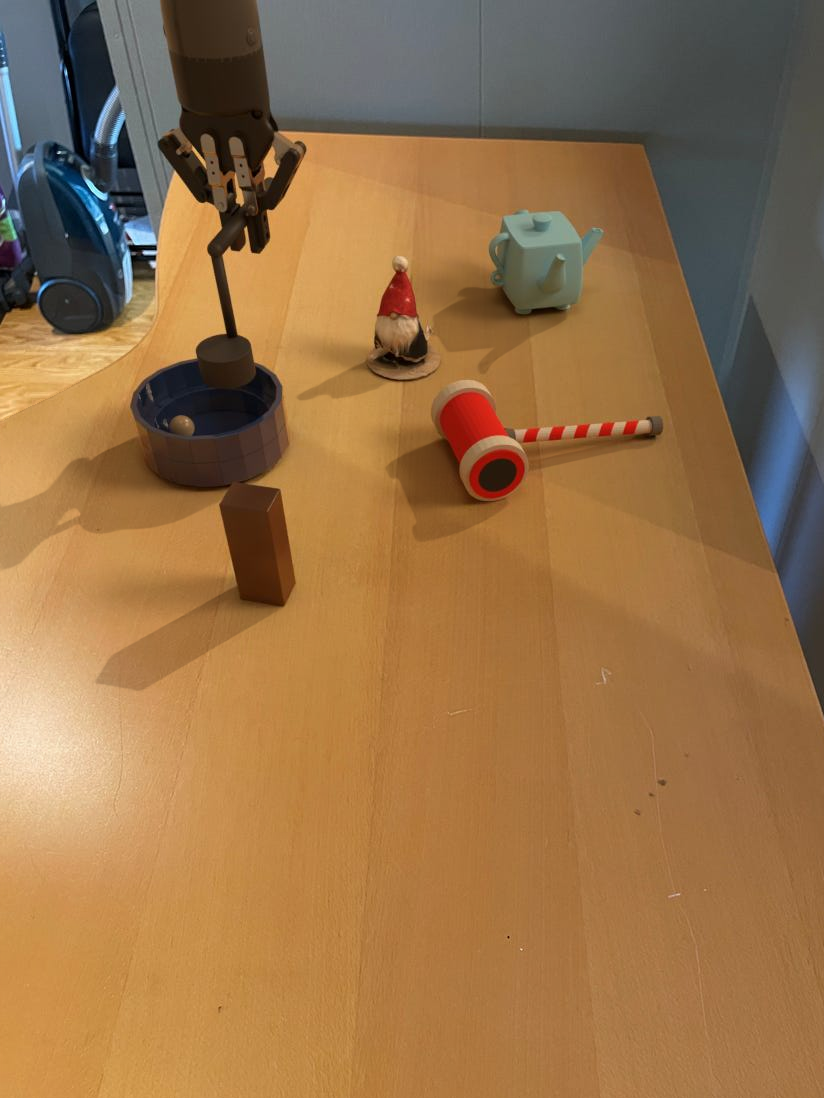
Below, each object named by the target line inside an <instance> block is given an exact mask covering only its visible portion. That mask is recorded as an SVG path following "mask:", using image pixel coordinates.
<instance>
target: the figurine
mask: <svg viewBox="0 0 824 1098" xmlns="http://www.w3.org/2000/svg"><path fill="white" fill-rule="evenodd" d="M409 263H410V262H409V260H408V259H407V258H405V257H404V256H402V255H395V256H394V257H393V259H392V261H391V264H392V265H391V266H392V269H393V271H394V272H395V274H394V275H393V276H392V278H391V280H390V281H389V283H388V285H387V286H386V289H385V290H384V292H383V294H382V295H381V299H380V303H379V309H378V312H377V314H376V320H375V324H374V335H373V336H374V337H373V345H374V348H373V349H372V351H370V352H369V353H368V356H367V358H366V363H367V366H368V368H369V369H370V370H371V371H372V372H374V373H375V374H378V375H380V376H382V377H385V378H388V379H392V380H393V379H394V380H401V381H402V380H405V381H406V380H407V381H409V380H410V381H412V380H413V381H414V380H416V379H417V380H418V379H421V378H422V377H426V378H427V377H428V375H431V374H432V373H434V372H437V370H438V369H439V366H440V364H441V361H442V359H441V354H440V352H438V350H437V349H435V347H433V346H431V345H430V344H429V343H428V340H429V338H430V336H431V334H432V333H434V330H433V329H432V327H431V326H430V325H427V326H426V327H425V331H424V329H423V327H422V325H421V322H420V320H419V318H420V315H419V313H418V310H417V302H416V297H415V293H414V290H413V286H412V283H411V280H410V278H409V276H408V274H407V271H408V270H409V265H410V264H409ZM390 353H391V354H393V355H394V356H395V357H396V358H399V357H401V358H402V359H404V360H403V361H402V360H401V361H400V362H399V361H396V360H392V359H387V358H386V357H385V355H387V354H390Z"/></svg>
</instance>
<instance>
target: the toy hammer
mask: <svg viewBox="0 0 824 1098" xmlns="http://www.w3.org/2000/svg"><path fill="white" fill-rule="evenodd" d="M430 408H431V409H430V417H431V421H432V424H433V425H434V427H435V429H436V431H437V433H438V434H439V435H440V437H441V438H443V439H444V440H445V441H448V443H449V445H450V447H451V449H452V451H453V453H454V456H455V457H456V459H457V461H458V464H459V476H460V477H459V478H460V480H461V482H462V484H463V485H464V487H465V490H466V491H467V493H468V494H469V495H470V496H471V497H473V498H474V499H476V500H479V501H484V502H494V501H500V500H503V499H505V498H507V497H509V496H511V495H512V494H513V493H515V492H517V490H519V489H520V488H521V487H522V485H523V484H524V482H525V481H526V479H527V476H528V474H529V471H530V462H529V458H528V456H527V454H526V452H525V451H524V448H523V447H522V446H521V444H526V443H537V442H540V443H541V442H550V441H551V442H552V441H563V440H575V439H589V438H600V437H601V438H602V437H613V436H625V435H639V434H645V435H646V436H648V437H653V436H661V434H662V433H663V431H664V420H663V418H662V417H661V416H660V415H653V416H647V417H646V418H645V419H642V420H641V419H639V420H628V421H614V422H601V423H587V424H586V423H585V424H575V425H562V426H560V425H559V426H547V427H535V428H533V427H532V428H524V429H523V428H522V429H514V428H507V427H504V425H503V424H502V422H501V420H500V418H499V417H498V415H497V406H496V403H495V400H494V397H493V396H492V394H491V393H490V391H489V389H488V388H487V387H486V386H485V385H484V384H483V383H481V382H479V381H477V380H473V379H461V380H457V381H453V382H452V383H449V384H448V385H446V386H444V388H442V389H441V390H440V391H439V392H437V395H436V396H435V397H434V398H433V402H432V403H431V407H430Z"/></svg>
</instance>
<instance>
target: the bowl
mask: <svg viewBox="0 0 824 1098" xmlns="http://www.w3.org/2000/svg"><path fill="white" fill-rule="evenodd" d="M254 364H255V369H256V374H255V377H254V378H253V380H252V381H250V382H249V383H247V384H246V385H244V386H241V387H238V388H233V389H216V388H212V387H210V386H208V385H206V384H205V383H204V382H203V380H202V377H201V373H200V368H199V364H198V360H197V357H196V358H191V359H186V360H181V361H177V362H175V363H172V364H170V365H168V366H165V367H162V368H160V369H158V370H156V371H155V372H153V373H152V374H151V375H149V376H147V377H145V378H144V379H143V380H142V381H141V383H140V384H139V385H138V386H137V387H136V389H134V391H133V392H132V396H131V400H130V405H129V408H130V411H131V415H132V418H133V422H134V425H135V429H136V432H137V436H138V439H139V442H140V446H141V449H142V453H143V456H144V459H145V461H146V464H147V466H148V467H149V468H150V469H151V470H152V471H154V472H155V473H156V474H157V475H158V476H159V477H161V478H164V479H165V480H168V481H170V482H172V483H175V484H178V485H185V486H192V487H199V488H205V487H206V488H207V487H224V486H227V485H231V484H232V483H233V482H238V483H241V482H244V481H247V480H250V479H252V478H254V477H256V476H258V475H260V474H262V473H265V472H266V471H268V470H270V469H271V468H272V467H273V466H274V465H275V464H277V463H278V462H279V461H281V459H282V458H283V456H284V454H285V452H286V451H287V449H288V447H289V445H290V427H289V422H288V421H289V420H288V415H287V413H288V412H287V407H286V400H285V394H284V388H283V387H284V386H283V384H282V383H281V381H280V380H279V377H278V376H277V374H276V373H274V372H273V371H271V369H269V368H267V367H266V366H265V365H263V364H261V363H257V362H255V361H254ZM179 415H183V416H187V417H188V418H190V419H191V420H192V422H193V423H194V428H195V429H194V433H193V435H192V436H185V435H178V434H171V432H170V429H169V425H170V422H171V420H172V419H173V418H174V417H176V416H179Z"/></svg>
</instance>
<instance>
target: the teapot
mask: <svg viewBox="0 0 824 1098" xmlns="http://www.w3.org/2000/svg"><path fill="white" fill-rule="evenodd" d="M603 236H604V230H603V229H602V228H598V227H591V228H590V229H589V231H587V233H585V234H584V236H583V237H580V235H579V233H578V232H577V230H576V229H575V227H574V226H573V224H572V222H570V221H569V219H568V218H567V217H566V216H565V215H564V214H563V213H562V212H561V211H559V210H552V211H539V212H530V213H529V210H528V209H520V210H517V211H514V213H513V214H509V215H504V216H503V217H502V219H501V224H500V229H499V233H498V234H496V235H495V236H494V237H492V239H491V240H490V242H489V245H488V254H489V257H490V259H491V262H492V263H493V265H494V267H495V268H496V269H495V270H493V271H492V272H491V274H490V282H491V284H492V285H494V286H496V287H501V288H502V291H503V292H504V294H505V295H506V297H507V298H508V299H509V302H511V304H512V305H513V307H515V308H514V311H515V313H516V314H518V315H528V314H530V313H532V310H534V309H535V310H536V309H546V308H553V307H554V308H555V309H556V310H559V311H566V310H569V309H570V308H571V305H576V304H578V303H579V301H580V298H581V295H582V291H583V278H584V274H583V273H584V267H585V265H586V264H587V262H588V260H589V259H590V256H592V254H593V252H594V251H595V249H596V247H597V245H598V244H599V242H600V241H601V239H602V237H603ZM496 248H497V251H496ZM497 277H498V278H497Z"/></svg>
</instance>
